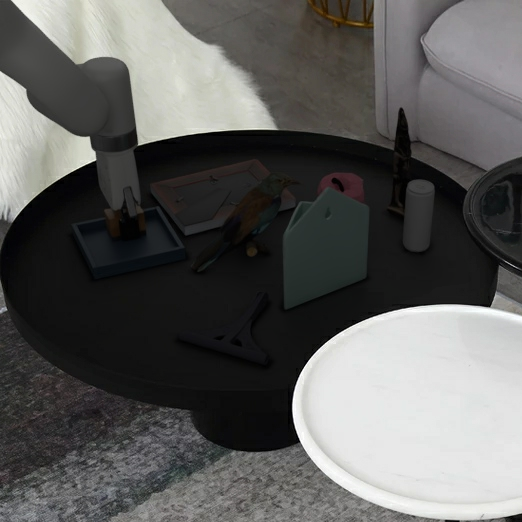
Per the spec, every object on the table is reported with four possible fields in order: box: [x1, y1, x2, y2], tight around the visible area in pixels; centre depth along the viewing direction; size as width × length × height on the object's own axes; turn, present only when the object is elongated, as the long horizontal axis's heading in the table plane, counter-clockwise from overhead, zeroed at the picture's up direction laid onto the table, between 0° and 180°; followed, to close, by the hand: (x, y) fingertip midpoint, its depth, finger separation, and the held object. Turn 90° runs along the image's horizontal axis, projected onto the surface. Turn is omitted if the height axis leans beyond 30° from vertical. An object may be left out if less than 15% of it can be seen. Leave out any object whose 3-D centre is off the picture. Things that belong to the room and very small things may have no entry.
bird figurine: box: [190, 171, 303, 273], centre depth 168 cm, size 13×10×20 cm
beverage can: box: [402, 179, 436, 253], centre depth 172 cm, size 5×5×12 cm
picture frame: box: [149, 158, 297, 237], centre depth 183 cm, size 16×2×22 cm
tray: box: [70, 205, 187, 280], centre depth 171 cm, size 16×15×2 cm
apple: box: [316, 172, 366, 205], centre depth 177 cm, size 10×9×10 cm
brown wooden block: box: [103, 203, 147, 242], centre depth 172 cm, size 6×4×4 cm, turn 117°
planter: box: [282, 187, 370, 310], centre depth 160 cm, size 16×8×20 cm, turn 127°
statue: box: [386, 106, 413, 220], centre depth 177 cm, size 4×7×20 cm, turn 49°
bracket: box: [178, 290, 270, 366], centre depth 155 cm, size 14×15×3 cm
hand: (127, 231), depth 173 cm, fingers closed on brown wooden block, 3 cm apart
